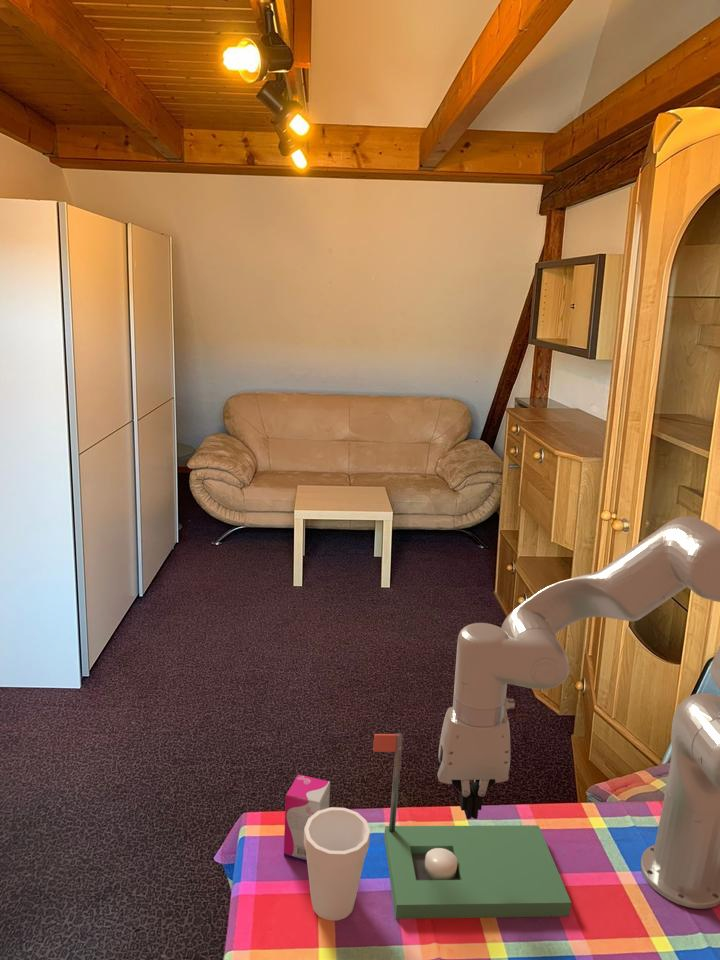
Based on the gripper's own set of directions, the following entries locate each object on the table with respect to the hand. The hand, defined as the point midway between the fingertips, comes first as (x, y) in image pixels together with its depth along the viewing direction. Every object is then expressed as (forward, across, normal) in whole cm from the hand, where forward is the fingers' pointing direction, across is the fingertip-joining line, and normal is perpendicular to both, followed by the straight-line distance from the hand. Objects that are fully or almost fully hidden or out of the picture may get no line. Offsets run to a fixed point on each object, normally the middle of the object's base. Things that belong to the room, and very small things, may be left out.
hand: (470, 812), depth 115 cm
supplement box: (+11, +25, -6) cm, 28 cm away
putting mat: (+12, 0, 0) cm, 12 cm away
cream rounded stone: (+11, +4, 0) cm, 11 cm away
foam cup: (+11, +21, +5) cm, 24 cm away
